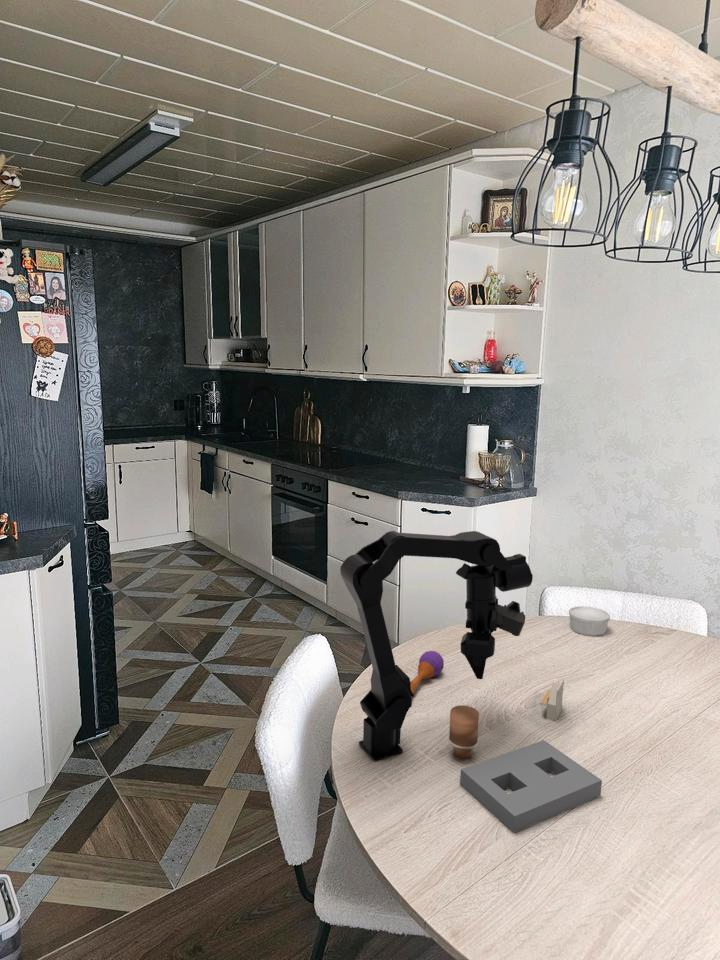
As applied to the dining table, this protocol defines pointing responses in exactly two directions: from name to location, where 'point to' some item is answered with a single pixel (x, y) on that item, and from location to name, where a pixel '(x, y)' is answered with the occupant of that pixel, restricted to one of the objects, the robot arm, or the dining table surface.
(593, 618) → the ramekin
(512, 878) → the dining table surface
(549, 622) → the dining table surface
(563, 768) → the charcoal board
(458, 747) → the mahogany dowel
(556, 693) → the architectural model
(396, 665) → the robot arm
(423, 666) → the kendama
